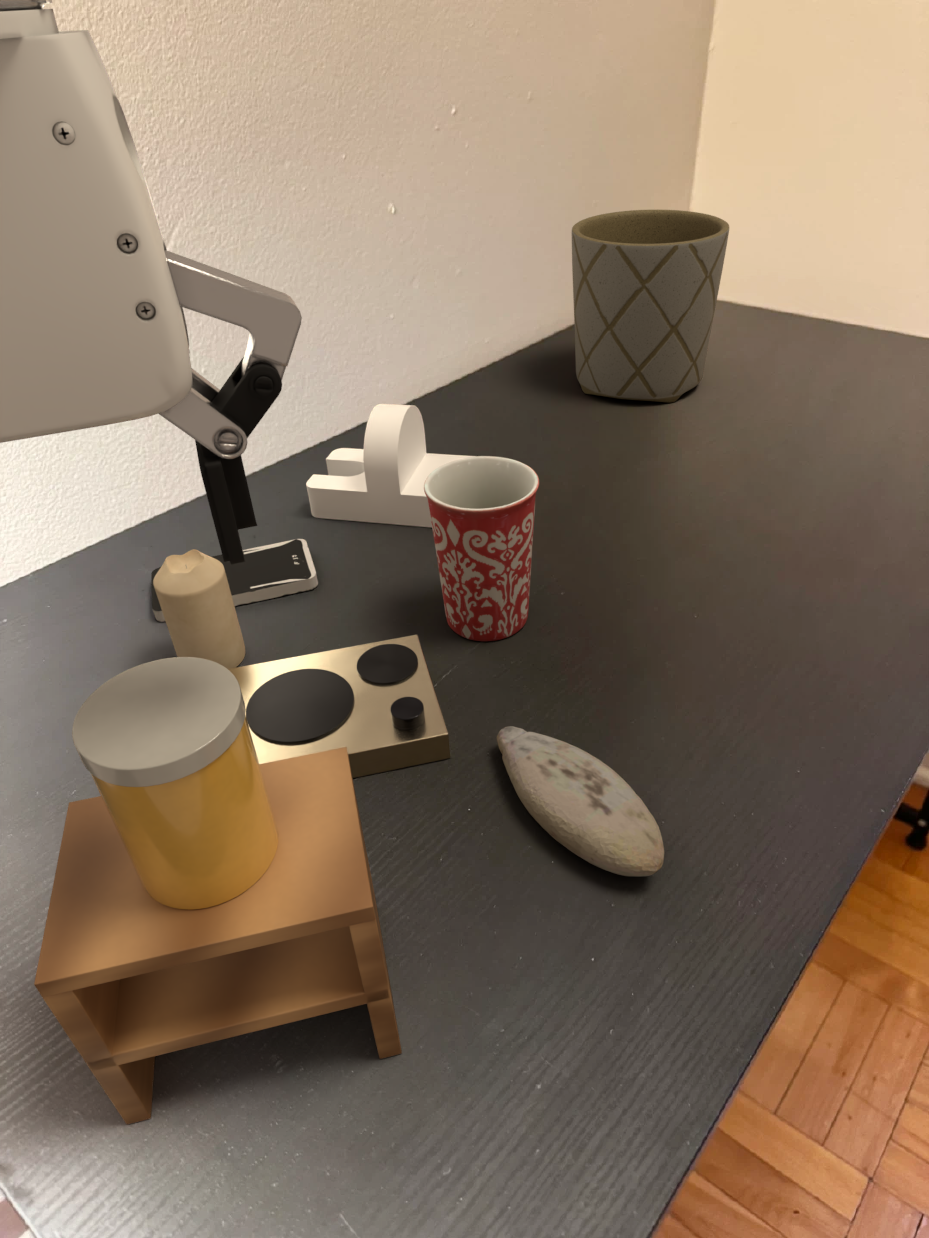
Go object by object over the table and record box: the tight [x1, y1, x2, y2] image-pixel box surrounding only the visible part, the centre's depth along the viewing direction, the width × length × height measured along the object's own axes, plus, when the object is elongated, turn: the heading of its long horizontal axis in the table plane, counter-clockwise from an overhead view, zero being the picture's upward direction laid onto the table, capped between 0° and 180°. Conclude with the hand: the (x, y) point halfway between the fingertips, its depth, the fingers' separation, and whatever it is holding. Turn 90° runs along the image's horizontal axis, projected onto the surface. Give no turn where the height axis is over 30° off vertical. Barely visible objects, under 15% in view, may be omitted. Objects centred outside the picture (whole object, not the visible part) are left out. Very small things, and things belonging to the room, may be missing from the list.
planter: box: [571, 209, 730, 404], centre depth 110 cm, size 19×19×20 cm
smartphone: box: [150, 538, 319, 623], centre depth 80 cm, size 8×1×15 cm
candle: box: [153, 549, 246, 669], centre depth 69 cm, size 6×6×10 cm
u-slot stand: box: [305, 403, 477, 528], centre depth 89 cm, size 10×18×11 cm, turn 76°
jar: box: [71, 656, 278, 910], centre depth 37 cm, size 7×7×9 cm
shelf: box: [33, 747, 403, 1125], centre depth 43 cm, size 14×10×13 cm
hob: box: [228, 634, 451, 779], centre depth 63 cm, size 16×12×4 cm
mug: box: [424, 455, 540, 642], centre depth 72 cm, size 13×9×14 cm
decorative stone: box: [496, 725, 665, 877], centre depth 56 cm, size 6×16×3 cm, turn 37°
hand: (96, 572), depth 30 cm, fingers open, 9 cm apart
